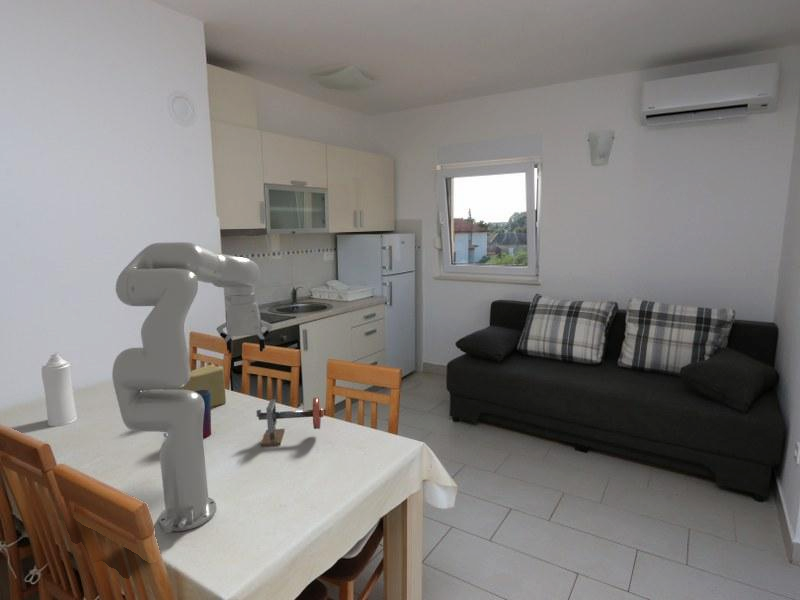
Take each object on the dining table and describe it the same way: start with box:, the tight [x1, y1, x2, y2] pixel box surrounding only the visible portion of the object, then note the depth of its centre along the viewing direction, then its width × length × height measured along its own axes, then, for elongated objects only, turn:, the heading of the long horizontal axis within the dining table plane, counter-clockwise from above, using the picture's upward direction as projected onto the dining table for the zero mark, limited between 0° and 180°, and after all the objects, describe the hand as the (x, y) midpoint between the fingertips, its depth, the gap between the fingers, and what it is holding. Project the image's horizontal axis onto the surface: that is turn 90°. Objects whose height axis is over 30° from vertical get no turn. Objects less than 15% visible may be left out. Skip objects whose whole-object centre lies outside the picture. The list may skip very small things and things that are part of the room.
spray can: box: [41, 351, 78, 427], centre depth 169 cm, size 12×11×25 cm
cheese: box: [168, 364, 227, 408], centre depth 176 cm, size 22×10×15 cm, turn 144°
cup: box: [194, 389, 212, 439], centre depth 155 cm, size 7×7×15 cm
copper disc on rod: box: [256, 397, 325, 430], centre depth 152 cm, size 10×21×10 cm, turn 96°
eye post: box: [260, 398, 285, 447], centre depth 152 cm, size 10×6×12 cm, turn 6°
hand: (246, 351), depth 151 cm, fingers open, 9 cm apart
